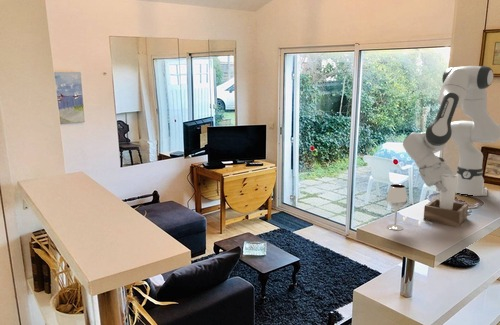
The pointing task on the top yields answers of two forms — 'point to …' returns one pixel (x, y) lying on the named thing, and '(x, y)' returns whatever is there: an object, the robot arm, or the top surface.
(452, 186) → the white rectangular block
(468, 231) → the top surface
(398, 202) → the wineglass
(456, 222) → the walnut crate
